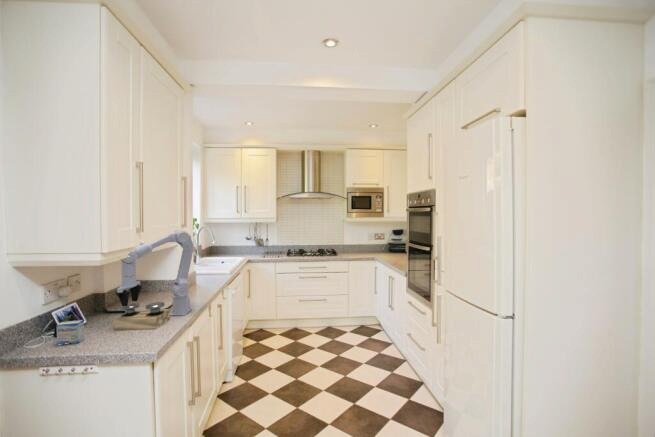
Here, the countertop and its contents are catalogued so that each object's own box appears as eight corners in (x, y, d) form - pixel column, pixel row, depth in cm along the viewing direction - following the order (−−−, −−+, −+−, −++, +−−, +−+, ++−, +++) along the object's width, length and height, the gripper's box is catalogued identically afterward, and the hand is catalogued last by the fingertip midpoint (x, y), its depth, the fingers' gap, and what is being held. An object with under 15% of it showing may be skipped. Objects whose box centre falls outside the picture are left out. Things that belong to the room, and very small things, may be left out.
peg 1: (127, 312, 151) (126, 302, 150) (143, 311, 151) (143, 302, 151) (116, 317, 143) (116, 307, 142) (133, 317, 143) (133, 307, 143)
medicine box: (56, 346, 124) (55, 325, 124) (62, 341, 129) (62, 321, 128) (79, 343, 126) (78, 322, 126) (84, 339, 131) (84, 319, 131)
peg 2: (151, 311, 151) (151, 302, 151) (167, 311, 151) (167, 301, 151) (142, 317, 143) (141, 307, 143) (159, 316, 143) (159, 307, 143)
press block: (131, 319, 153) (131, 309, 153) (169, 318, 154) (169, 309, 153) (114, 329, 140) (113, 319, 140) (155, 329, 141) (155, 318, 140)
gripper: (130, 272, 153) (131, 299, 154) (110, 279, 139) (111, 308, 139) (144, 272, 153) (145, 298, 154) (125, 278, 139) (126, 308, 139)
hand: (129, 303), depth 146 cm, fingers open, 7 cm apart
